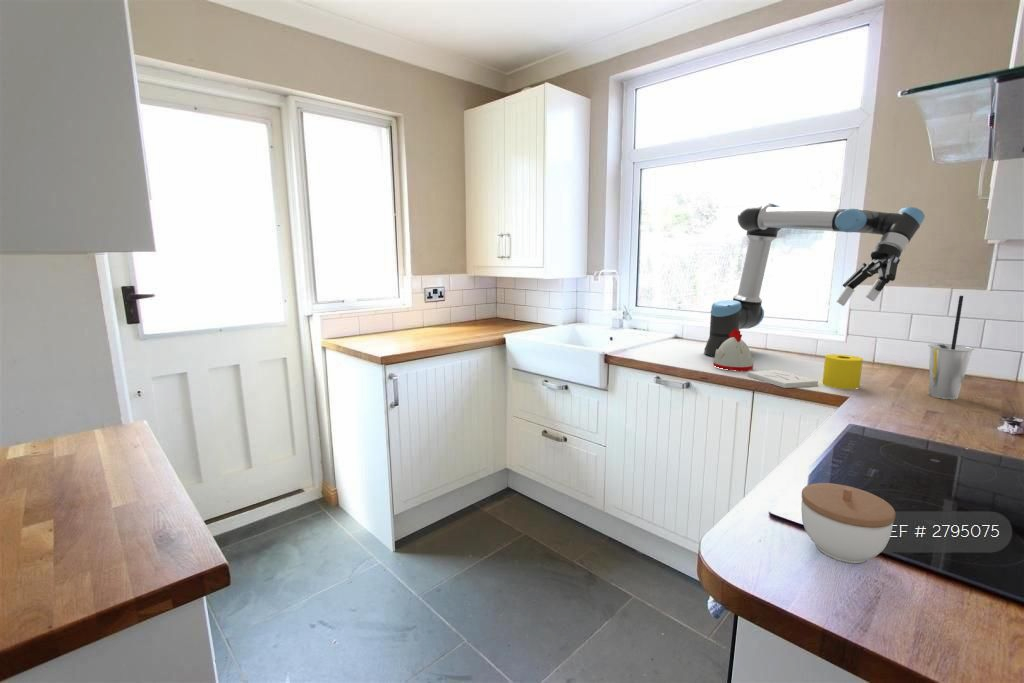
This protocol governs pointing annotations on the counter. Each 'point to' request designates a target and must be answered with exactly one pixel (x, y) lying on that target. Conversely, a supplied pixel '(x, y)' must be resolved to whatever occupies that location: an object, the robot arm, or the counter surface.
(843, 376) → the tape roll
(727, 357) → the kitchen timer
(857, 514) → the lidded jar
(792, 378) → the marked board
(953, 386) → the cup with straw
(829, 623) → the counter surface
